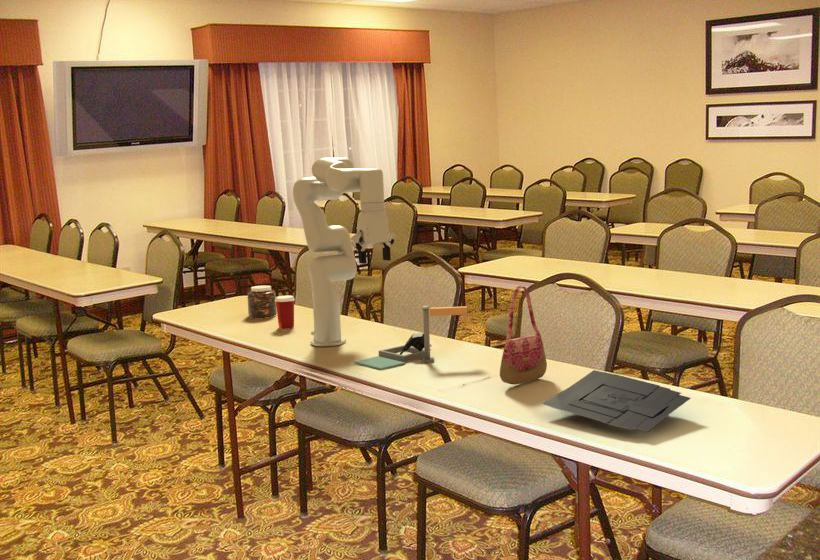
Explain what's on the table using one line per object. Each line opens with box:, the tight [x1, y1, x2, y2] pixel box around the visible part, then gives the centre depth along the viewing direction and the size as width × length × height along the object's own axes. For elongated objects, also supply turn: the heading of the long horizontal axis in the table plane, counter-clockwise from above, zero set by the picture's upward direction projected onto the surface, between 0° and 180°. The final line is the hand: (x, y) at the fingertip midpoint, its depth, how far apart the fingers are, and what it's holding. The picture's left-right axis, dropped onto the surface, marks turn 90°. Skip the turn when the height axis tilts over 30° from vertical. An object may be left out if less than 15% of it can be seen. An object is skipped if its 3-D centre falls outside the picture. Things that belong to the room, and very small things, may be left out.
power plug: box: [399, 332, 433, 355], centre depth 288 cm, size 6×8×12 cm
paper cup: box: [275, 295, 295, 330], centre depth 340 cm, size 8×8×14 cm
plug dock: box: [378, 308, 435, 364], centre depth 286 cm, size 20×11×18 cm, turn 41°
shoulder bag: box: [499, 285, 548, 385], centre depth 250 cm, size 17×3×28 cm, turn 128°
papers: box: [541, 369, 692, 432], centre depth 221 cm, size 24×30×4 cm
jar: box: [247, 285, 277, 319], centre depth 363 cm, size 12×12×15 cm
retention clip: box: [421, 305, 469, 322], centre depth 279 cm, size 15×3×5 cm, turn 90°
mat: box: [353, 355, 406, 371], centre depth 281 cm, size 14×10×1 cm
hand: (374, 261), depth 276 cm, fingers open, 9 cm apart
